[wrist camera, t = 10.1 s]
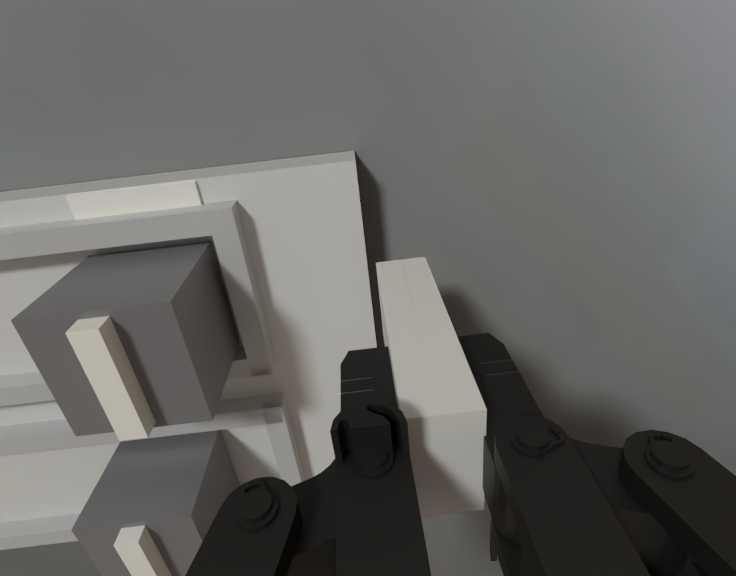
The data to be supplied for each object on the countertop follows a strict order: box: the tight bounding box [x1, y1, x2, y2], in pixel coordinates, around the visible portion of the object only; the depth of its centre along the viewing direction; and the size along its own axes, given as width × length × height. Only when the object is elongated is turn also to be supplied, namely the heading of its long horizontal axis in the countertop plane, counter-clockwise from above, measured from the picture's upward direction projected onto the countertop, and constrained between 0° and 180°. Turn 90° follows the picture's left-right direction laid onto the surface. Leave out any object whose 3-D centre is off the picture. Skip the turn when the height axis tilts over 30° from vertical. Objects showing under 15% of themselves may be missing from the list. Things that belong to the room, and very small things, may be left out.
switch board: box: [0, 151, 377, 550], centre depth 18 cm, size 24×16×2 cm, turn 96°
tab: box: [71, 430, 240, 576], centre depth 17 cm, size 4×4×5 cm
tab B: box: [11, 241, 240, 441], centre depth 14 cm, size 4×4×5 cm
